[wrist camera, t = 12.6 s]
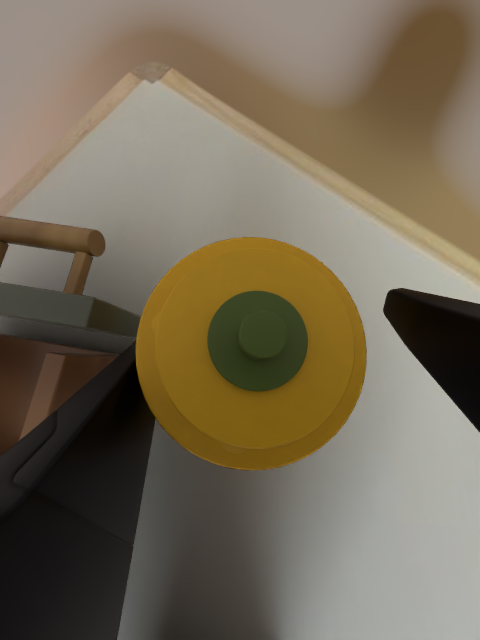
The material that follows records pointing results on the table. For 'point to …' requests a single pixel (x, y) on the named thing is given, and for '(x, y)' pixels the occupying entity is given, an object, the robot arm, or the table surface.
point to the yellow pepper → (251, 353)
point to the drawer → (56, 309)
